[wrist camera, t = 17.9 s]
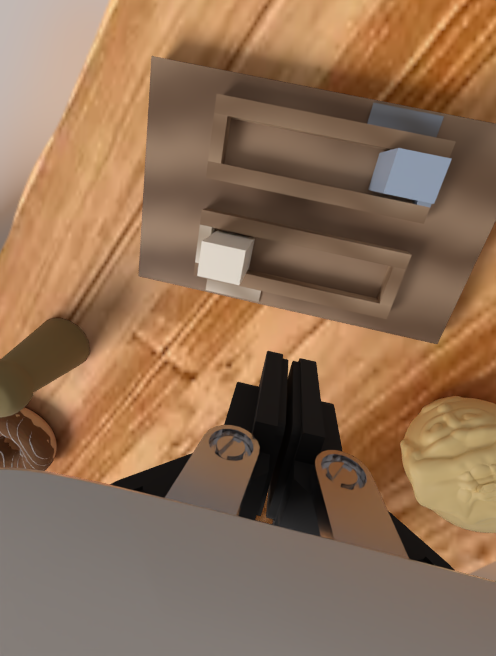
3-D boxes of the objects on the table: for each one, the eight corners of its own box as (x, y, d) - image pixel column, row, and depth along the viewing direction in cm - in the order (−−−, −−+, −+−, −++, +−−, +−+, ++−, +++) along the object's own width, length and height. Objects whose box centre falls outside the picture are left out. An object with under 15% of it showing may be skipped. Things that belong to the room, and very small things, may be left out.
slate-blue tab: (409, 198, 27) (434, 204, 22) (368, 189, 27) (383, 193, 22) (422, 161, 26) (451, 158, 21) (379, 152, 26) (398, 147, 21)
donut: (66, 413, 44) (45, 434, 40) (61, 471, 48) (41, 495, 45) (-15, 386, 44) (-43, 405, 40) (-13, 447, 48) (-38, 469, 45)
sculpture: (489, 360, 34) (567, 437, 24) (525, 450, 37) (607, 549, 27) (374, 403, 37) (401, 485, 27) (417, 481, 41) (454, 579, 31)
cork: (35, 313, 38) (-57, 361, 28) (88, 323, 38) (12, 376, 28) (41, 360, 41) (-42, 421, 31) (90, 370, 41) (22, 434, 31)
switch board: (429, 335, 33) (443, 351, 30) (147, 270, 35) (132, 280, 32) (520, 134, 26) (550, 129, 23) (161, 63, 28) (144, 49, 25)
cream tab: (249, 267, 31) (239, 285, 26) (213, 259, 31) (197, 275, 26) (254, 237, 30) (245, 250, 25) (218, 229, 30) (201, 240, 25)
